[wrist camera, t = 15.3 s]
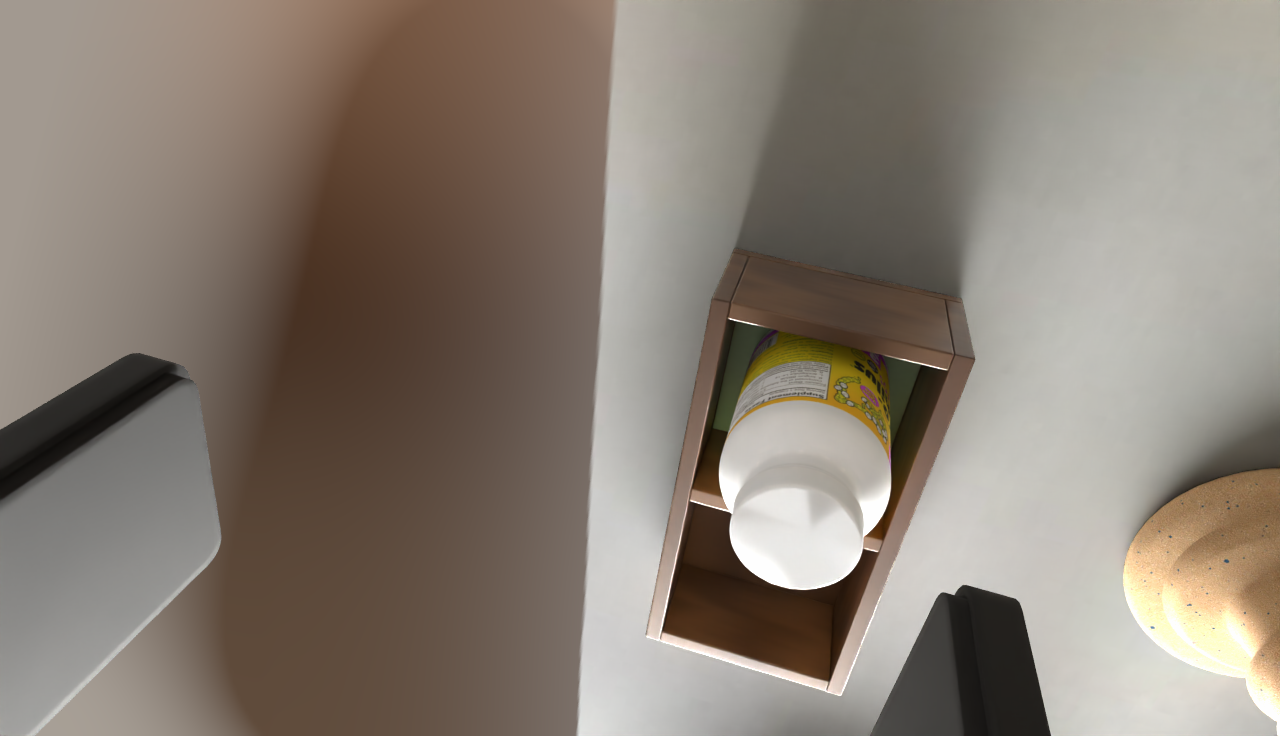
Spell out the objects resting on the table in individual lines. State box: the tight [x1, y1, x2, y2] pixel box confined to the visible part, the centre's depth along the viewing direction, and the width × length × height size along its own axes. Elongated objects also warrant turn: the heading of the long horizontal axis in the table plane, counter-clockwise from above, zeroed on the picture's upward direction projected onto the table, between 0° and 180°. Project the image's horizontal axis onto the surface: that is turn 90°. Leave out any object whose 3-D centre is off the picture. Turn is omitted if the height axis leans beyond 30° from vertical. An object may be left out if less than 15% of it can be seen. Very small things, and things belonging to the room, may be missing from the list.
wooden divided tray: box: [646, 248, 975, 696], centre depth 40 cm, size 11×20×6 cm, turn 172°
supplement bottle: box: [719, 329, 891, 589], centre depth 34 cm, size 7×7×13 cm
